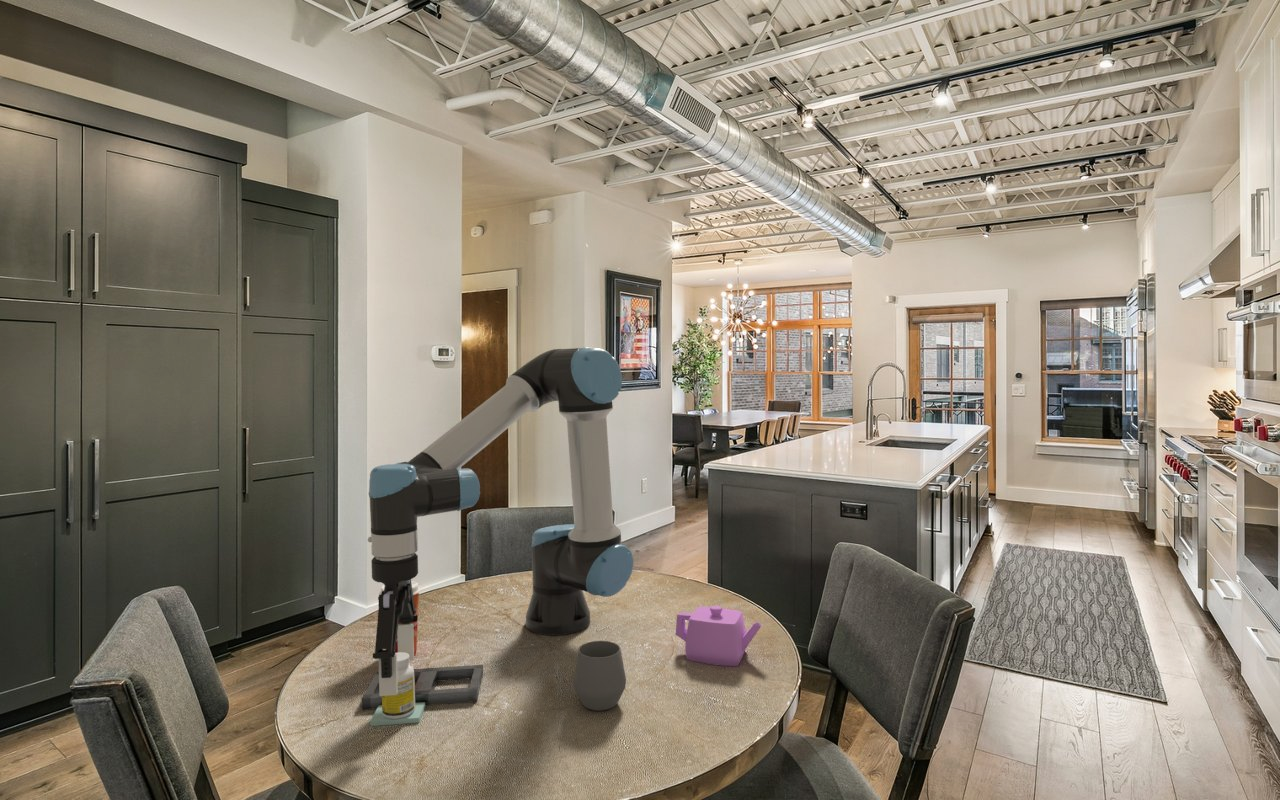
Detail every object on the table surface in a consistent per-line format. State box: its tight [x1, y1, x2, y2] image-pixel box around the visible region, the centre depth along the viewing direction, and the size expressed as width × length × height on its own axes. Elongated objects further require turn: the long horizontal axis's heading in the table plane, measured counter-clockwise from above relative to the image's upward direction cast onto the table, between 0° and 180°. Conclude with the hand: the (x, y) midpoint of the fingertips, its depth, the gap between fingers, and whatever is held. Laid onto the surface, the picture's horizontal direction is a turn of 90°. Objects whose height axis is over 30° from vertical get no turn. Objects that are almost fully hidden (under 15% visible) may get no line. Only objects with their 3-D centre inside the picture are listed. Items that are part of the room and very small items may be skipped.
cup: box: [572, 640, 627, 712], centre depth 121 cm, size 10×9×10 cm
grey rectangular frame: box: [361, 664, 484, 711], centre depth 127 cm, size 20×11×2 cm, turn 98°
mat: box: [369, 702, 426, 727], centre depth 118 cm, size 8×6×1 cm
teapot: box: [675, 605, 762, 667], centre depth 142 cm, size 18×10×10 cm, turn 71°
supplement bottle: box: [382, 652, 416, 719], centre depth 117 cm, size 5×5×10 cm
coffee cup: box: [378, 580, 421, 657], centre depth 143 cm, size 8×8×15 cm
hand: (397, 676), depth 117 cm, fingers open, 13 cm apart
